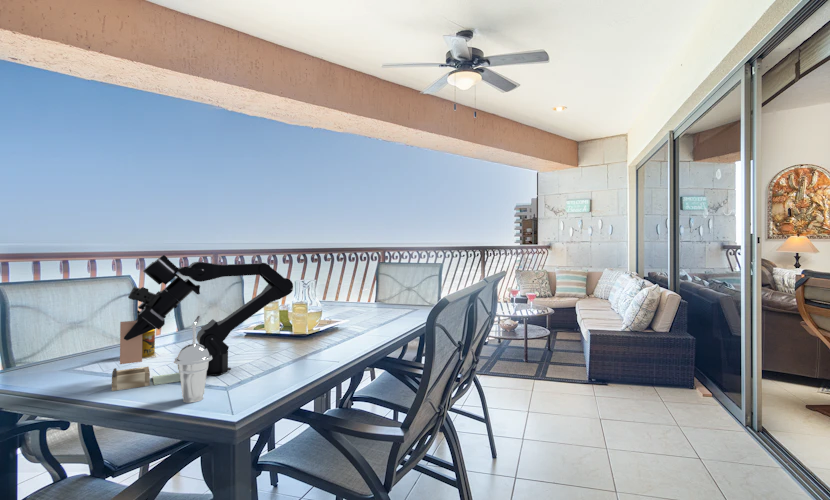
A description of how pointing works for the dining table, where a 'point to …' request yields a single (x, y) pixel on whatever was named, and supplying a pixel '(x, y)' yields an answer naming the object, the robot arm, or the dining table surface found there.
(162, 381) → the pad
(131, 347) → the pinkish tan rectangular block
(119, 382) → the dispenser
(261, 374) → the dining table surface
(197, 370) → the cup with straw
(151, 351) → the condiment
